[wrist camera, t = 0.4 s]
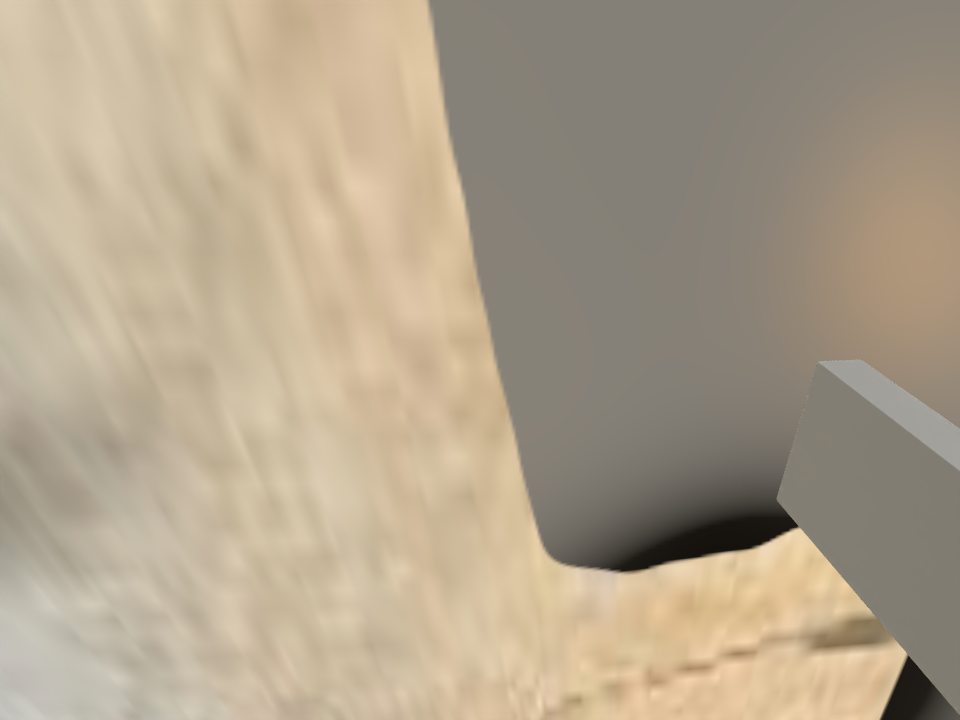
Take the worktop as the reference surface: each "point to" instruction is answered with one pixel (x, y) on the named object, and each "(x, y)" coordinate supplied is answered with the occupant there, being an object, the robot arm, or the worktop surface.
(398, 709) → the worktop surface
